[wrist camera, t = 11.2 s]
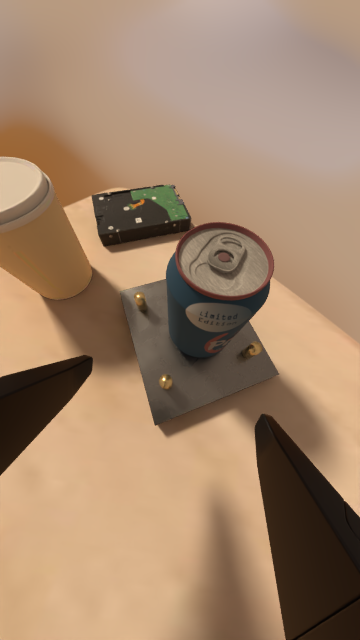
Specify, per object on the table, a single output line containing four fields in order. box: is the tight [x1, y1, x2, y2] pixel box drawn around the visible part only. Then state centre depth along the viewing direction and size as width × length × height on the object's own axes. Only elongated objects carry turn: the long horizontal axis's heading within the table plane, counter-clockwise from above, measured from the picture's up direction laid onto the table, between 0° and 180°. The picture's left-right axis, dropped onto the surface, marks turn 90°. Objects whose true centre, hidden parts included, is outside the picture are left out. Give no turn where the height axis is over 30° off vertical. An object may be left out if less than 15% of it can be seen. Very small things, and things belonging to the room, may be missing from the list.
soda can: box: [166, 222, 274, 358], centre depth 16 cm, size 7×7×12 cm
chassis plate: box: [120, 279, 279, 425], centre depth 21 cm, size 16×14×4 cm
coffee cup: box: [0, 157, 92, 300], centre depth 20 cm, size 9×9×12 cm
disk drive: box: [92, 185, 191, 246], centre depth 31 cm, size 10×3×15 cm
